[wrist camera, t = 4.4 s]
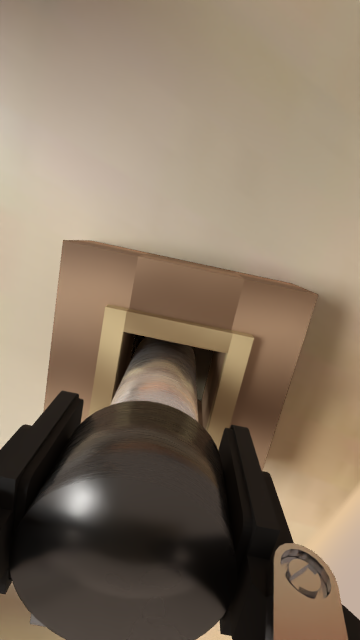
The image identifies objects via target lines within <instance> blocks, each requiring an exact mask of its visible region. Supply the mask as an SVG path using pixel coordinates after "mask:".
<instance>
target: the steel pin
mask: <svg viewBox="0 0 360 640" xmlns="http://www.w3.org/2000/svg"><path fill="white" fill-rule="evenodd" d="M9 568H10V574H11V578H12V581H13V584H14V587H15V589H16V591H17V593H18V595H19V597H20V599H21V601H22V602H23V603H24V605H25V606H26V608H27V609H28V610H29V611H30V612H31V614H32V615H33V616H34V617H35V618H36V619H37V620H38V621H40V622H41V623H42V624H43V625H44V626H45V627H47V628H48V629H50V630H51V631H52V632H54V633H55V634H57V635H59V636H61V637H62V638H64V639H66V640H196V639H197V638H199V637H200V636H202V635H203V634H205V633H206V632H207V631H209V630H210V629H211V628H212V627H213V626H214V625H215V624H216V623H217V622H218V621H219V620H220V619H221V618H222V616H223V615H224V614H225V612H226V610H227V609H228V607H229V606H230V603H231V601H232V599H233V596H234V593H235V589H236V585H237V565H236V557H235V550H234V543H233V536H232V529H231V522H230V515H229V509H228V502H227V495H226V488H225V481H224V474H223V467H222V461H221V457H220V453H219V451H218V448H217V446H216V444H215V442H214V440H213V439H212V437H211V436H210V434H209V433H208V432H207V431H206V429H205V428H204V427H203V426H202V425H201V424H200V423H198V406H197V386H196V366H195V355H194V351H193V349H192V347H191V346H189V345H184V344H180V343H175V342H170V341H165V340H160V339H156V338H151V337H146V338H144V339H143V340H142V341H141V342H140V344H139V345H138V347H137V349H136V351H135V353H134V355H133V357H132V359H131V362H130V364H129V366H128V368H127V370H126V372H125V374H124V376H123V379H122V381H121V383H120V385H119V387H118V389H117V391H116V393H115V396H114V398H113V400H112V402H111V404H110V406H107V407H104V408H102V409H100V410H98V411H96V412H95V413H93V414H92V415H90V416H89V417H87V418H86V419H85V420H84V421H83V422H82V423H81V424H80V425H79V426H78V427H77V428H76V430H75V431H74V432H73V434H72V436H71V437H70V439H69V441H68V442H67V444H66V446H65V447H64V449H63V451H62V453H61V454H60V456H59V458H58V459H57V461H56V463H55V464H54V466H53V468H52V469H51V471H50V473H49V474H48V476H47V478H46V479H45V481H44V483H43V485H42V486H41V488H40V490H39V491H38V493H37V495H36V496H35V498H34V500H33V501H32V503H31V505H30V506H29V508H28V510H27V512H26V513H25V515H24V517H23V518H22V520H21V522H20V523H19V525H18V527H17V529H16V530H15V533H14V536H13V538H12V541H11V546H10V551H9Z"/></svg>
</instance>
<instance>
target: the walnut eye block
mask: <svg viewBox="0 0 360 640" xmlns="http://www.w3.org/2000/svg"><path fill="white" fill-rule="evenodd" d="M317 298H318V294H315V293H313V292H311V291H308V290H306V289H303V288H301V287H299V286H296V285H294V284H291V283H287V282H282V281H277V280H273V279H268V278H263V277H258V276H254V275H249V274H244V273H240V272H235V271H230V270H226V269H221V268H216V267H212V266H207V265H202V264H198V263H193V262H188V261H184V260H179V259H174V258H169V257H165V256H160V255H155V254H151V253H146V252H141V251H137V250H132V249H127V248H123V247H118V246H113V245H109V244H104V243H99V242H95V241H83V240H63V246H62V254H61V263H60V272H59V281H58V289H57V298H56V307H55V316H54V325H53V333H52V342H51V351H50V360H49V368H48V377H47V386H46V395H45V403H44V411H45V410H46V409H47V407H48V406H49V405H50V404H51V403H52V401H53V400H54V399H55V398H56V396H57V395H58V394H59V393H60V392H61V391H67V392H72V393H77V394H79V398H80V399H83V400H84V404H83V411H82V418H81V423H82V422H83V421H84V420H85V419H86V418H87V417H89V416H90V415H92V414H93V413H95V412H96V411H98V410H100V409H102V408H104V407H107V406H110V404H111V402H112V400H113V398H114V396H115V393H116V391H117V389H118V387H119V385H120V383H121V381H122V379H123V376H124V374H125V372H126V370H127V368H128V366H129V364H130V358H131V353H132V347H133V341H134V336H135V334H137V335H141V336H146V337H151V338H156V339H160V340H165V341H170V342H175V343H180V344H184V345H189V346H194V347H199V348H203V349H208V350H213V351H214V352H213V356H212V360H211V364H210V368H209V372H208V376H207V380H206V384H205V388H204V392H203V397H202V401H200V400H197V406H198V423H200V424H201V425H202V426H203V427H204V428H205V429H206V431H207V432H208V433H209V434H210V436H211V437H212V439H213V440H214V442H215V444H216V446H217V448H218V450H219V446H220V442H221V439H222V435H223V432H224V429H225V428H230V426H231V425H237V426H242V427H247V428H248V429H249V431H250V435H251V438H252V441H253V444H254V447H255V451H256V454H257V457H258V460H259V464H260V467H261V470H263V467H264V464H265V461H266V458H267V455H268V451H269V448H270V445H271V442H272V439H273V436H274V433H275V429H276V426H277V423H278V420H279V417H280V414H281V411H282V407H283V404H284V401H285V398H286V395H287V392H288V389H289V385H290V382H291V379H292V376H293V373H294V370H295V367H296V363H297V360H298V357H299V354H300V351H301V348H302V345H303V342H304V338H305V335H306V332H307V329H308V326H309V323H310V320H311V316H312V313H313V310H314V307H315V304H316V301H317Z"/></svg>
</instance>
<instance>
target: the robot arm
mask: <svg viewBox="0 0 360 640" xmlns="http://www.w3.org/2000/svg"><path fill="white" fill-rule="evenodd" d="M83 404H84V400H83V399H80V398H79V394H77V393H72V392H67V391H61V392H60V393H59V394H58V395H57V396H56V398H55V399H54V400H53V401H52V403H51V404H50V405H49V406H48V407H47V409H46V410H45V411H44V412H43V413H42V415H41V416H40V417H39V418H38V419H37V421H36V422H35V423H34V424H33V425H32V426H30V425H23V426H22V427H20V428H19V429H18V431H17V432H16V433H15V434H14V435H13V436H12V437H11V438H10V440H9V441H8V442H7V443H6V444H5V445H4V446H3V447H2V449H1V450H0V593H1V594H6V592H7V590H8V588H9V586H10V584H11V582H12V578H11V574H10V568H9V551H10V546H11V541H12V538H13V536H14V533H15V530H16V529H17V527H18V525H19V523H20V522H21V520H22V518H23V517H24V515H25V513H26V512H27V510H28V508H29V506H30V505H31V503H32V501H33V500H34V498H35V496H36V495H37V493H38V491H39V490H40V488H41V486H42V485H43V483H44V481H45V479H46V478H47V476H48V474H49V473H50V471H51V469H52V468H53V466H54V464H55V463H56V461H57V459H58V458H59V456H60V454H61V453H62V451H63V449H64V447H65V446H66V444H67V442H68V441H69V439H70V437H71V436H72V434H73V432H74V431H75V430H76V428H77V427H78V426H79V425H80V424H81V418H82V411H83ZM218 451H219V453H220V457H221V461H222V467H223V474H224V481H225V488H226V495H227V502H228V509H229V515H230V522H231V529H232V536H233V543H234V550H235V557H236V565H237V585H236V589H235V593H234V596H233V599H232V601H231V603H230V606H229V607H228V609H227V610H226V612H225V614H224V615H223V616H222V618H221V619H220V631H221V634H224V635H230V636H232V639H233V640H360V620H359V619H358V618H357V617H355V616H354V615H353V614H352V613H351V612H350V611H349V610H348V609H347V608H346V607H345V606H343V605H342V604H341V600H340V594H339V589H338V585H337V582H336V579H335V576H334V575H333V573H332V571H331V570H330V568H329V567H328V565H327V564H326V563H325V562H324V561H323V560H322V559H321V558H320V557H319V556H318V555H317V554H315V553H314V552H313V551H312V550H310V549H308V548H306V547H304V546H302V545H298V544H295V543H293V540H292V537H291V534H290V531H289V528H288V525H287V522H286V519H285V516H284V513H283V510H282V507H281V504H280V502H279V499H278V496H277V493H276V490H275V487H274V484H273V481H272V478H271V476H270V474H269V473H268V472H263V471H262V470H261V467H260V464H259V460H258V457H257V454H256V451H255V447H254V444H253V441H252V438H251V435H250V431H249V429H248V428H247V427H242V426H237V425H231V426H230V428H225V429H224V432H223V435H222V439H221V442H220V446H219V450H218Z"/></svg>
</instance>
